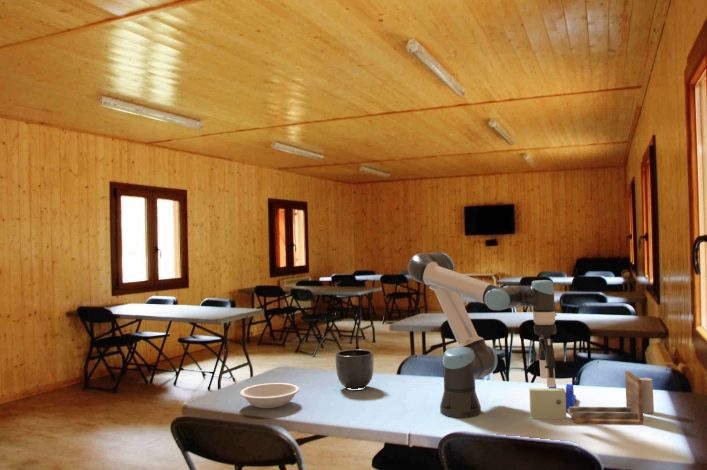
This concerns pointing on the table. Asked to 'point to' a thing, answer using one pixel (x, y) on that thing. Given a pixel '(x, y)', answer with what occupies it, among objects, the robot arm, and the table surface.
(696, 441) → the table surface
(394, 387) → the table surface
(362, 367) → the planter
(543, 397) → the door panel
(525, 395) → the table surface
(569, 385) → the bracket
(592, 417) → the wooden l-shaped piece
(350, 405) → the table surface
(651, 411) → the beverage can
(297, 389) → the soup bowl
